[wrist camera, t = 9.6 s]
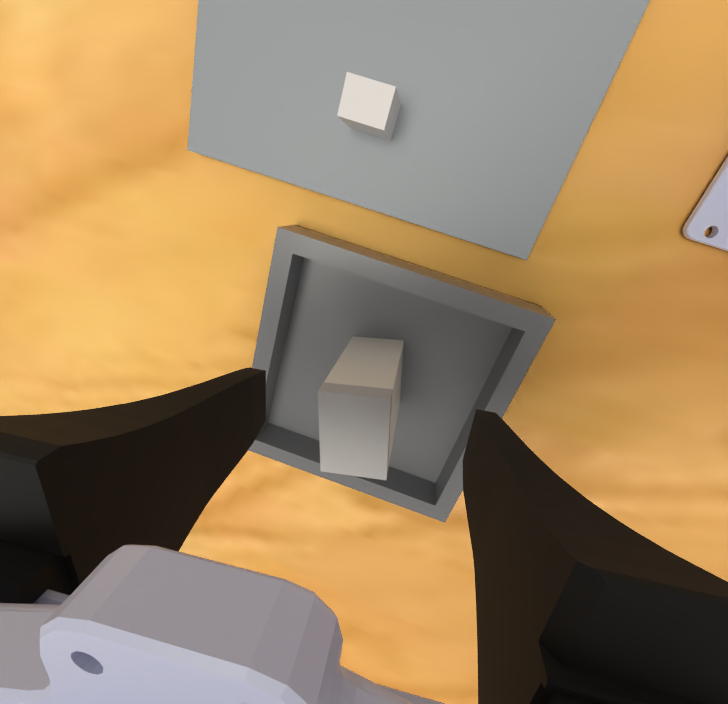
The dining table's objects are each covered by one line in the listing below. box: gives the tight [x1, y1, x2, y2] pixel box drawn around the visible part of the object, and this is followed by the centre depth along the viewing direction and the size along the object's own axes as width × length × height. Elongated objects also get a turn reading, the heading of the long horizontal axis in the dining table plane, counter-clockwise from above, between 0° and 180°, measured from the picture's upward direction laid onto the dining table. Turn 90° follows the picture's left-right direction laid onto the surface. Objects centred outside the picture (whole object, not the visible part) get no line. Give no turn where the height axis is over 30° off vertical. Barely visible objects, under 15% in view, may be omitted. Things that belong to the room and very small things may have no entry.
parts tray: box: [248, 225, 556, 522], centre depth 21 cm, size 14×14×2 cm
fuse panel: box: [187, 0, 650, 260], centre depth 15 cm, size 18×14×4 cm
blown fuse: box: [318, 336, 404, 480], centre depth 18 cm, size 3×4×7 cm
